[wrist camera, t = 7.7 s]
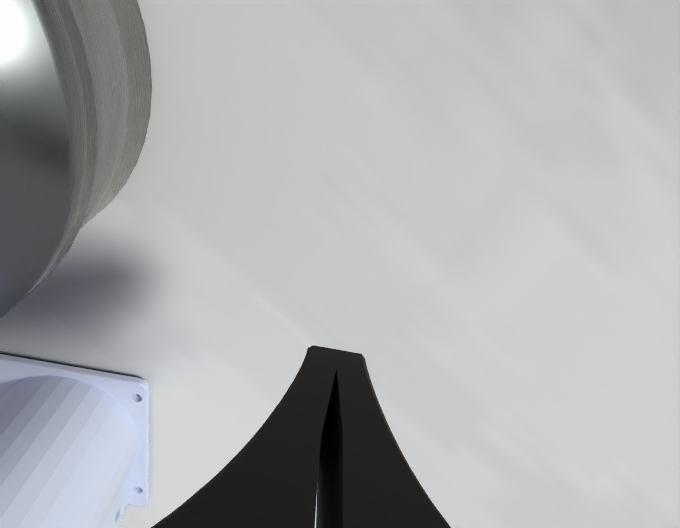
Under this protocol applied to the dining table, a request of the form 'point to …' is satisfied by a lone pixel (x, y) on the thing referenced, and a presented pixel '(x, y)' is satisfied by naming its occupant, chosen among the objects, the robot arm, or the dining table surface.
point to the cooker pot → (115, 90)
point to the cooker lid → (42, 141)
